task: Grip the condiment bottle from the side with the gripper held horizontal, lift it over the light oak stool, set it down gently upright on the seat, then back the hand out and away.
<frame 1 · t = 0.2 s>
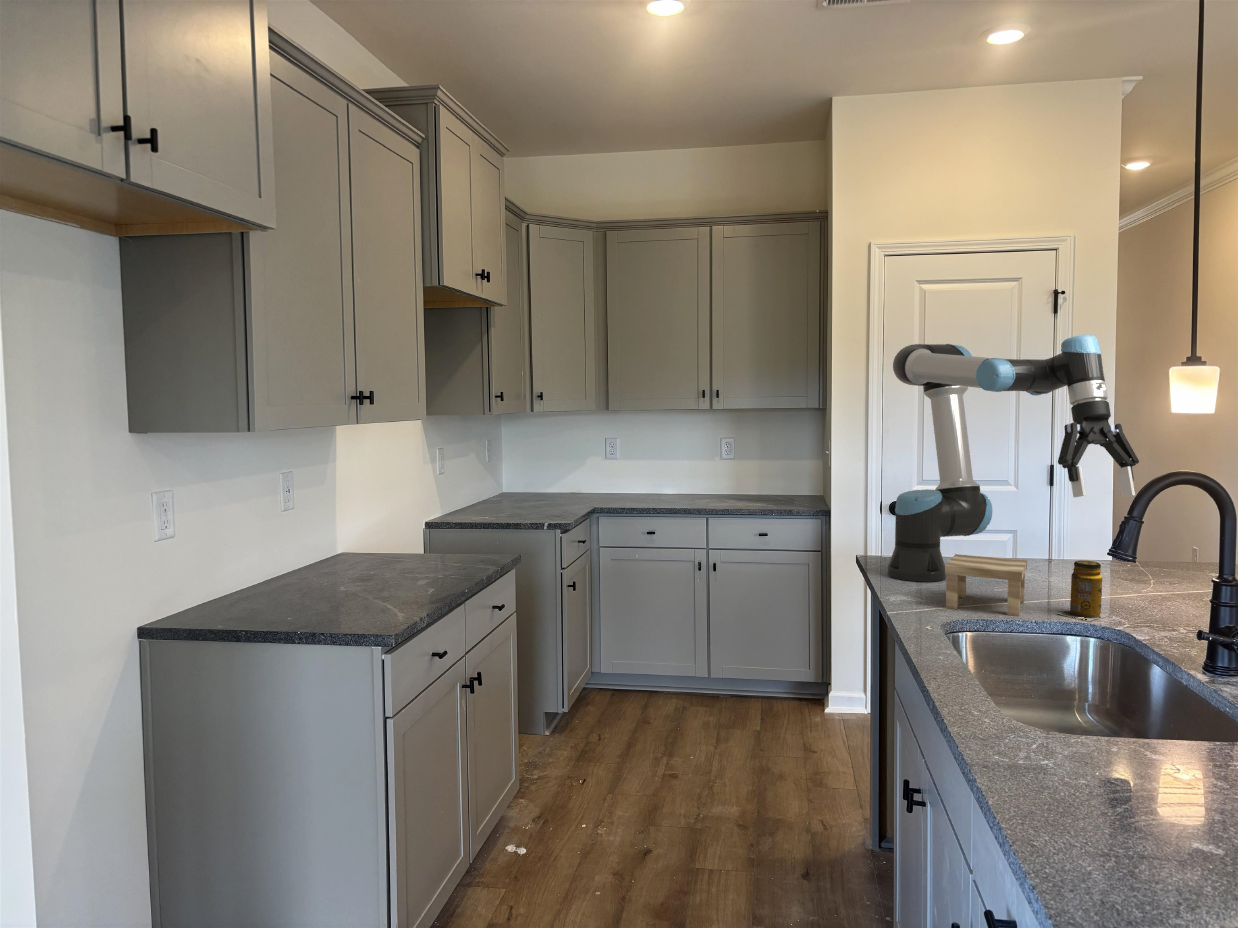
hand: (1104, 496, 183), 27 cm above the countertop, tool tilted 15°, fingers open, 13 cm apart
condiment: (1082, 616, 186), on the countertop
stool: (985, 604, 196), on the countertop
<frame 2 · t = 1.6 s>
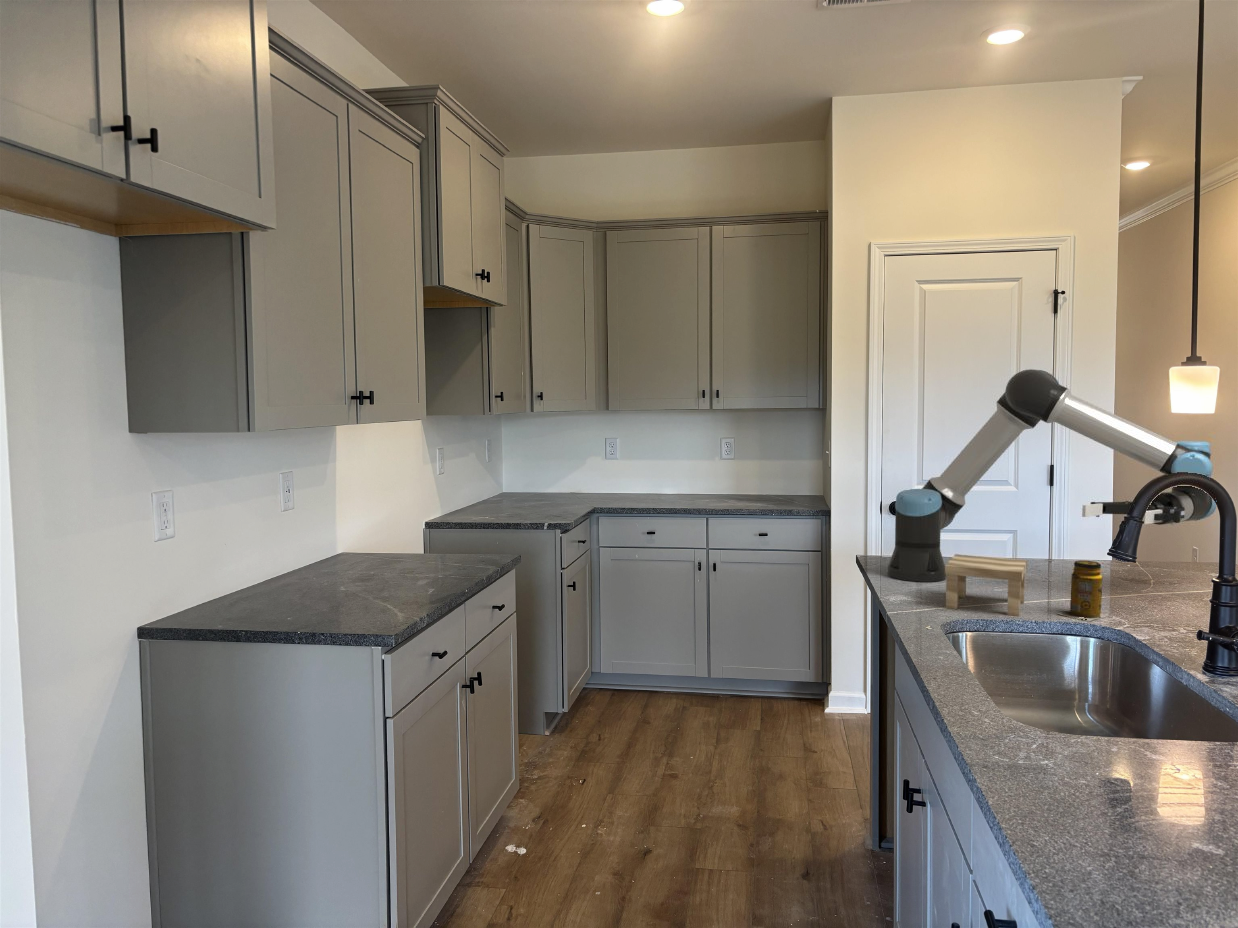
hand: (1112, 514, 188), 22 cm above the countertop, tool horizontal, fingers open, 13 cm apart
nothing on the countertop moved.
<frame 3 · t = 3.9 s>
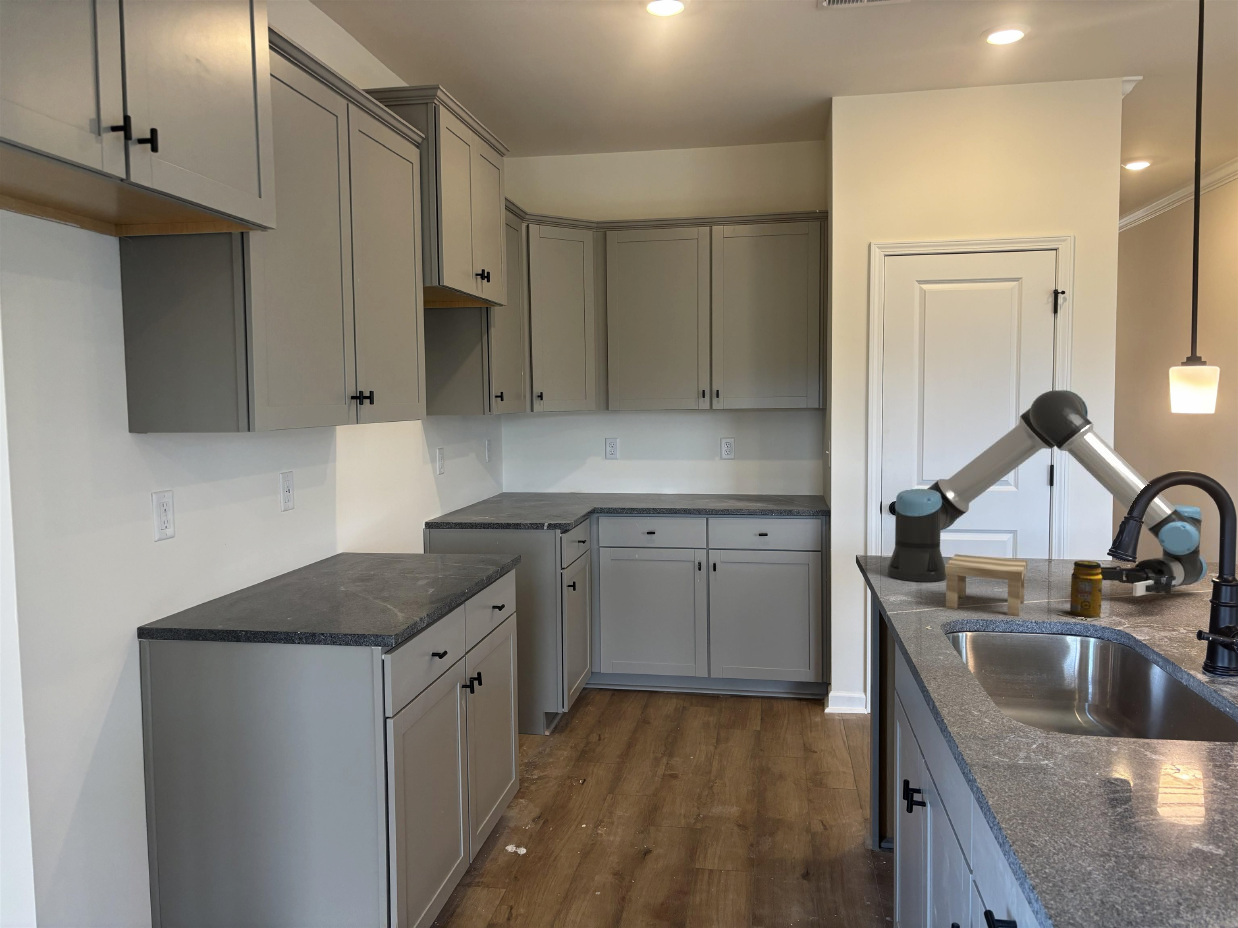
hand: (1104, 583, 188), 6 cm above the countertop, tool horizontal, fingers open, 13 cm apart
nothing on the countertop moved.
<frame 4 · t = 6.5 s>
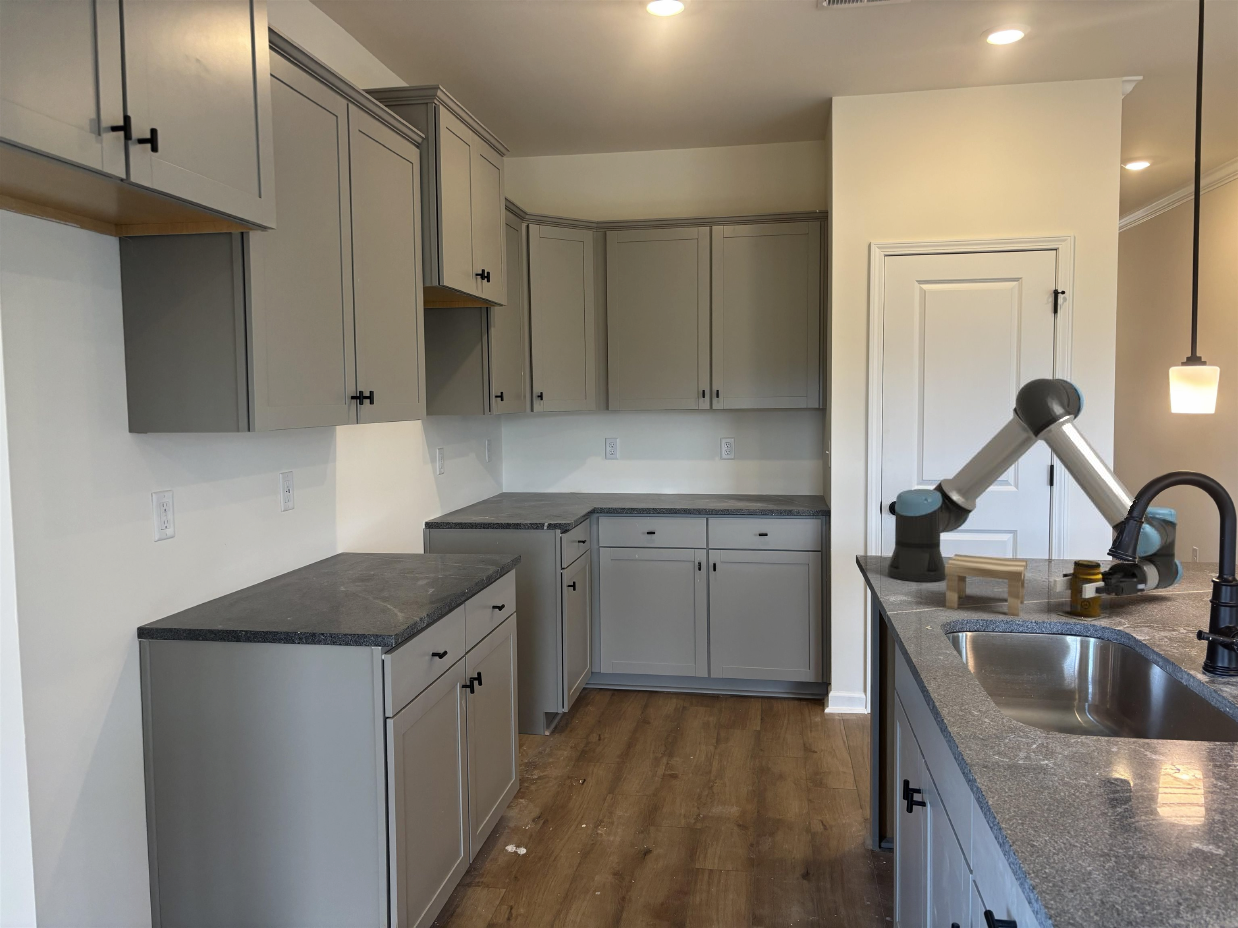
hand: (1069, 588, 183), 7 cm above the countertop, tool horizontal, fingers closed on condiment, 6 cm apart
condiment: (1082, 615, 186), on the countertop, touching gripper
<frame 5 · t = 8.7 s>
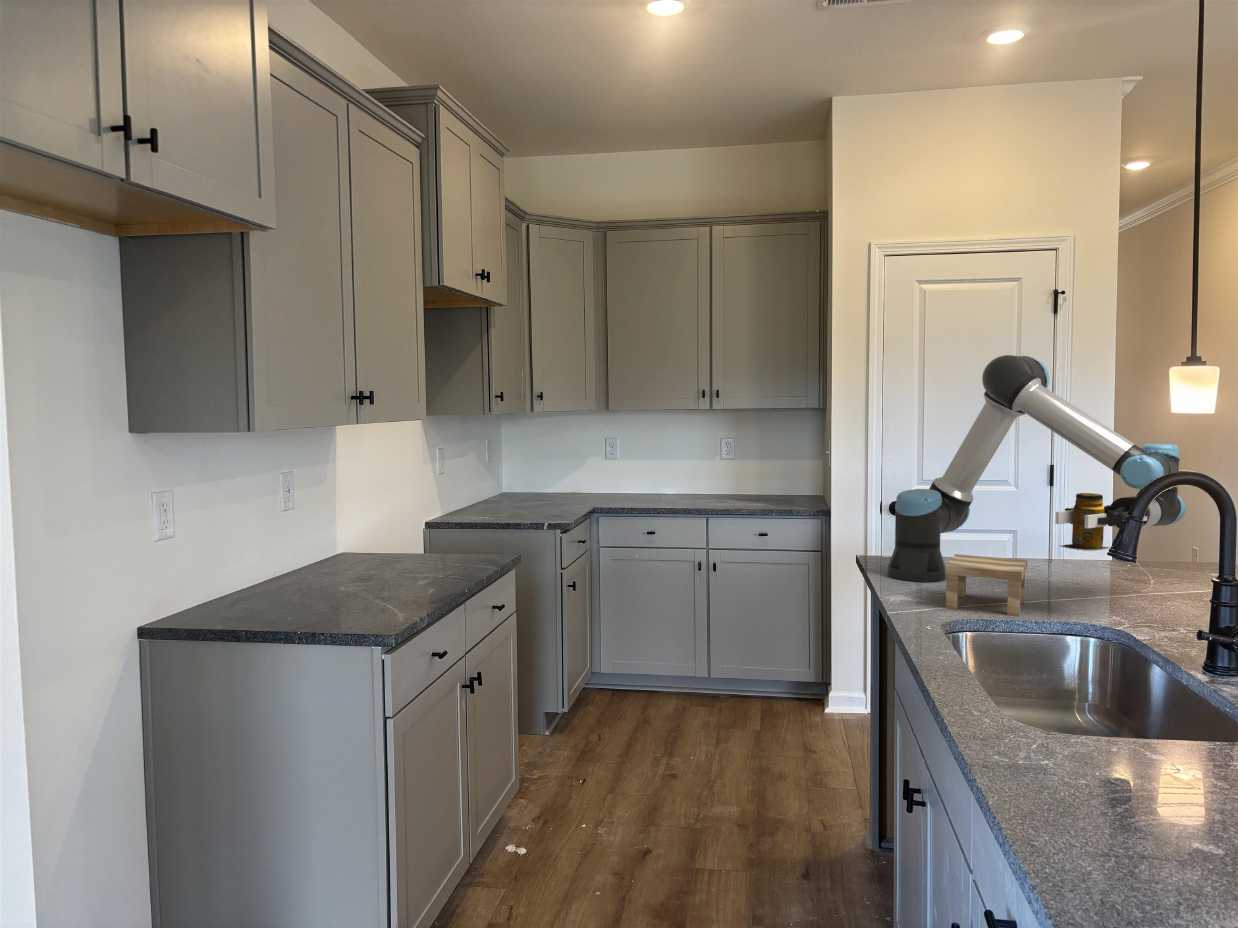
hand: (1071, 519, 182), 22 cm above the countertop, tool horizontal, fingers closed on condiment, 6 cm apart
condiment: (1084, 548, 185), point 15 cm above the countertop, touching gripper
when the fingers open (18 cm above the countertop, at t = 11.2 s): condiment drops 1 cm, resting on stool.
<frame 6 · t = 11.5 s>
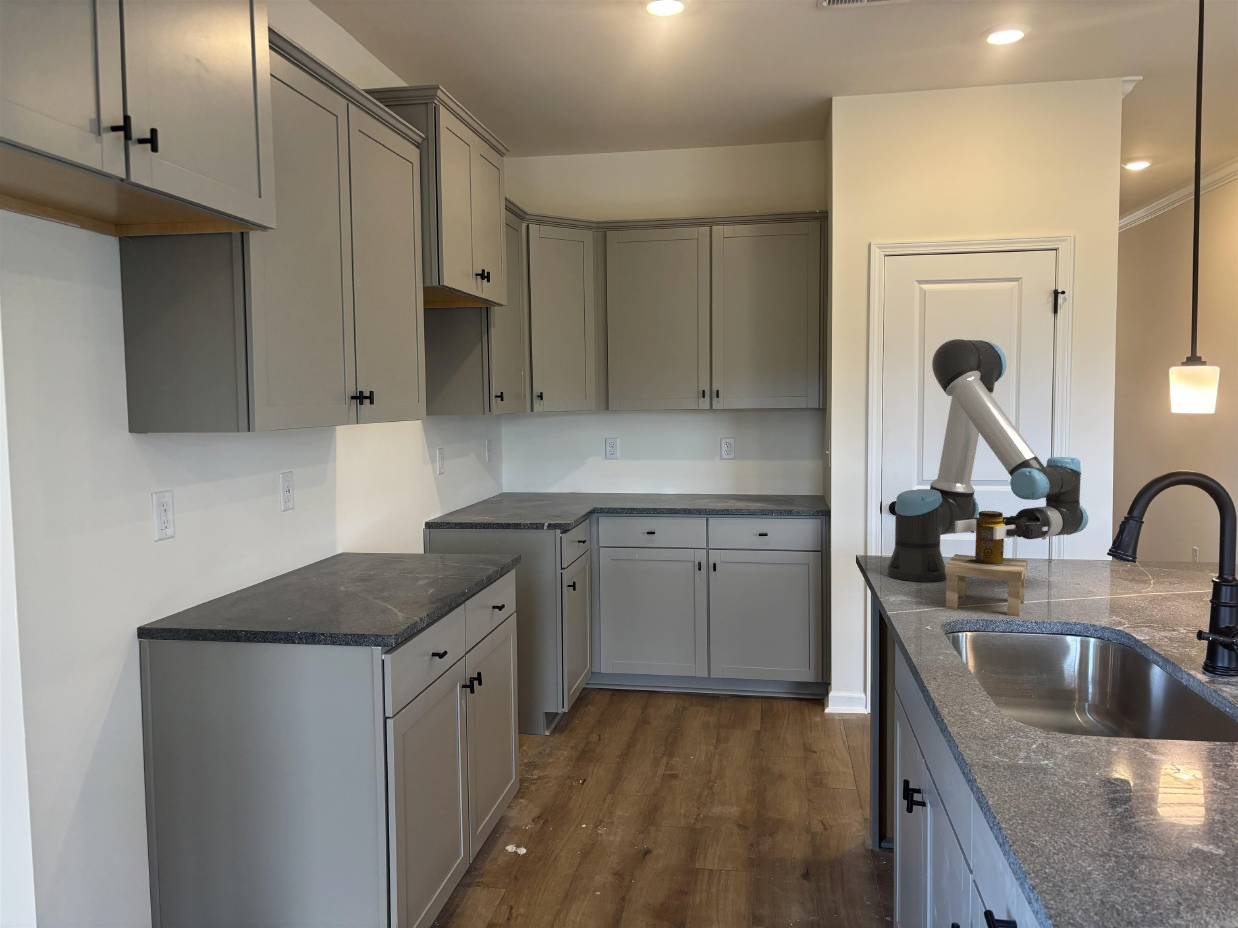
hand: (975, 530, 192), 18 cm above the countertop, tool horizontal, fingers open, 10 cm apart
condiment: (986, 563, 195), point 10 cm above the countertop, touching stool
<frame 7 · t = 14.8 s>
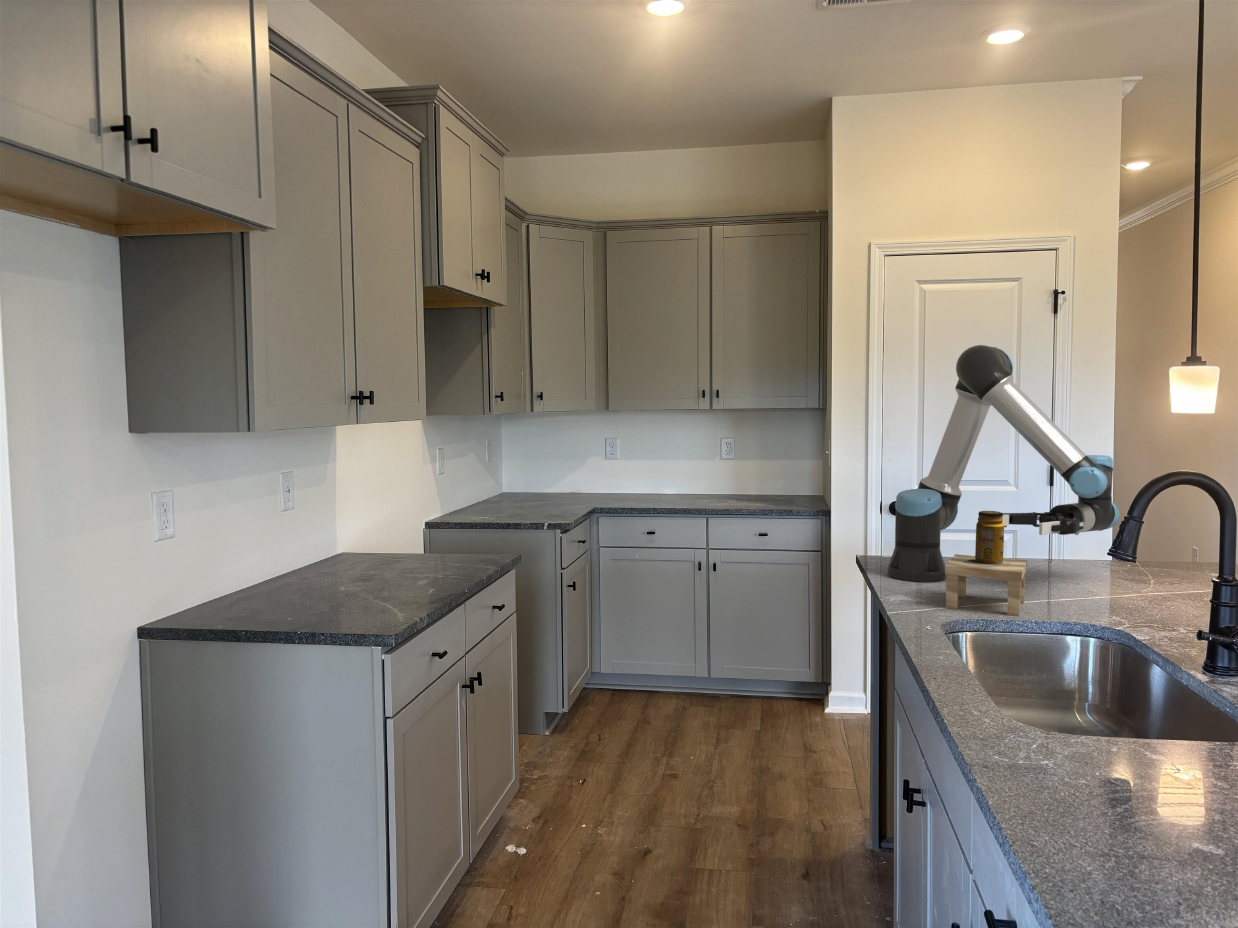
hand: (1014, 525, 199), 18 cm above the countertop, tool horizontal, fingers open, 13 cm apart
nothing on the countertop moved.
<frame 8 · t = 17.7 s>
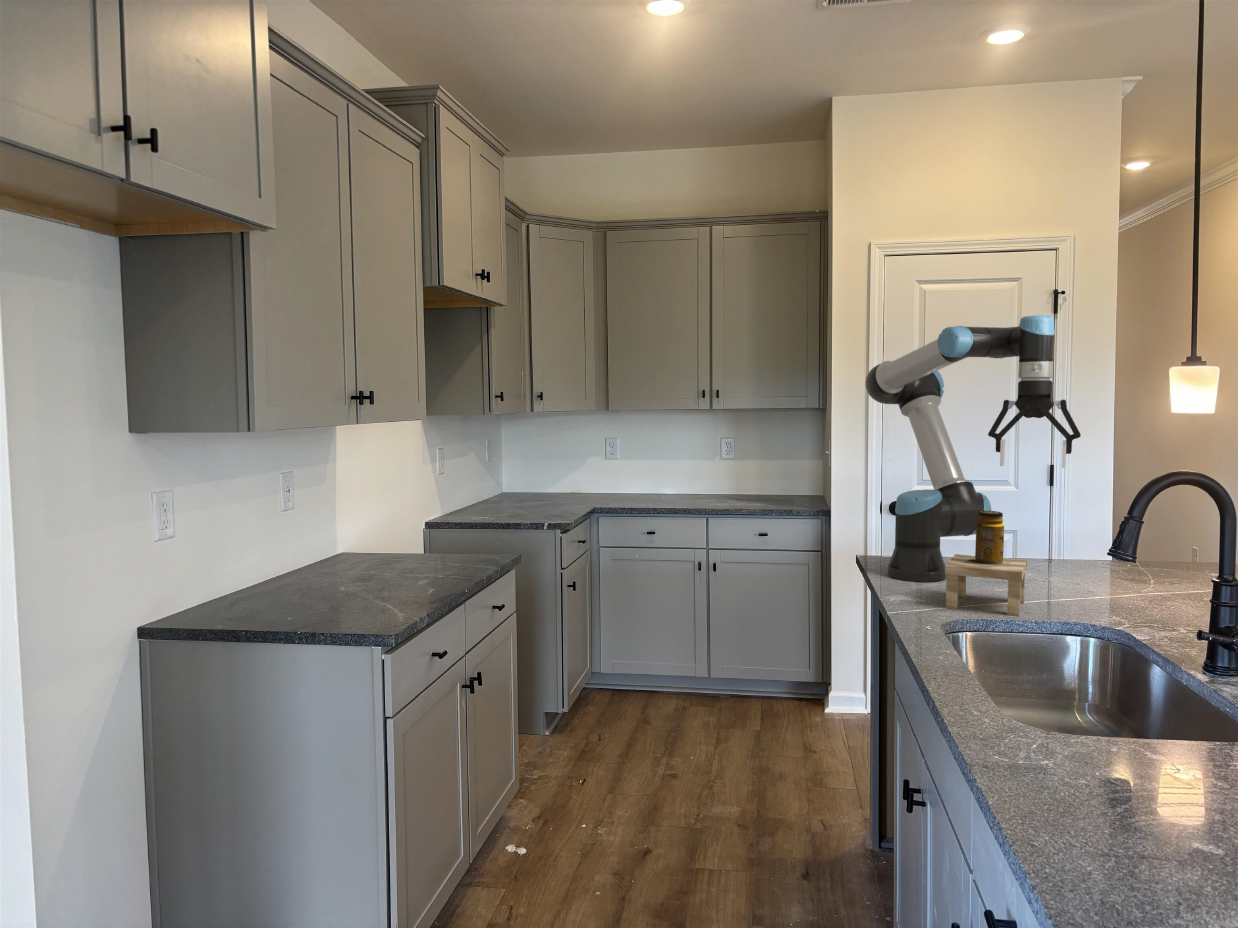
hand: (1032, 466, 204), 32 cm above the countertop, tool pointing down, fingers open, 13 cm apart
nothing on the countertop moved.
at the end: condiment inside the target area on the stool (0.1 cm from its centre), point 9.8 cm above the stool's base; condiment tilted 0°; the gripper is holding nothing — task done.
